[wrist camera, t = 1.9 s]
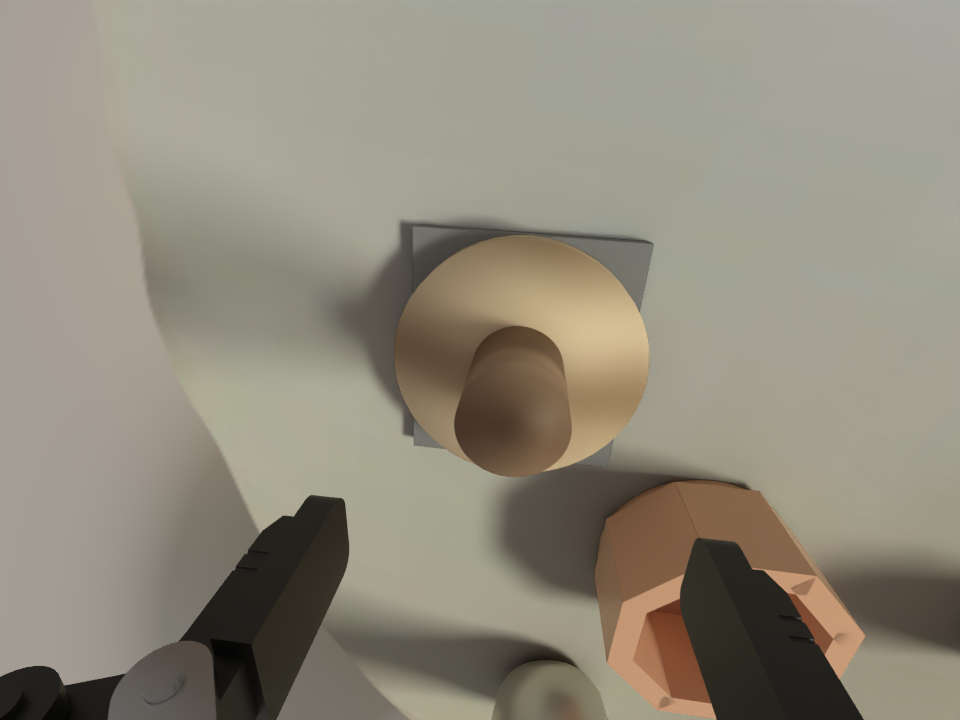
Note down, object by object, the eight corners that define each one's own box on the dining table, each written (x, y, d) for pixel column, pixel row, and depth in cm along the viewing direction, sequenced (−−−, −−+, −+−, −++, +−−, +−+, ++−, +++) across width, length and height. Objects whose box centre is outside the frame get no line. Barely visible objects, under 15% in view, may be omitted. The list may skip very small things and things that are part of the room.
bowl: (614, 469, 21) (635, 552, 17) (815, 492, 21) (895, 586, 16) (586, 602, 25) (596, 700, 20) (755, 625, 24) (806, 733, 20)
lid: (399, 225, 17) (342, 251, 12) (667, 245, 16) (726, 281, 11) (403, 443, 21) (361, 531, 16) (618, 468, 21) (645, 569, 15)
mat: (416, 224, 18) (412, 226, 17) (649, 241, 17) (653, 244, 16) (416, 438, 22) (413, 445, 21) (605, 459, 21) (607, 467, 21)
